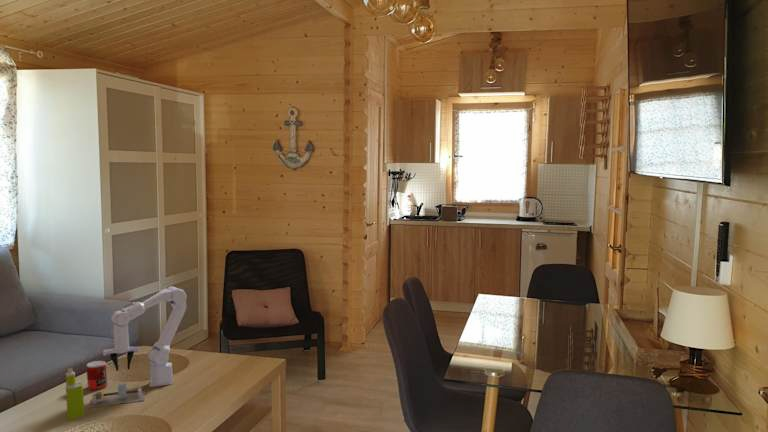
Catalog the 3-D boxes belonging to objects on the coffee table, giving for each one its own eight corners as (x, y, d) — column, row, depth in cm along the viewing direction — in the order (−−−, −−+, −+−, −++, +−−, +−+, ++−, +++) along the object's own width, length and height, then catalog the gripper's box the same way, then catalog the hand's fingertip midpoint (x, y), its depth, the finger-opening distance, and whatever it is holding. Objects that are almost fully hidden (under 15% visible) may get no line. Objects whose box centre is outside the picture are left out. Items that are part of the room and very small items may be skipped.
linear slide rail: (145, 392, 251) (144, 382, 251) (144, 400, 242) (143, 391, 242) (91, 399, 244) (91, 389, 244) (88, 408, 235) (87, 398, 235)
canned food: (99, 391, 253) (98, 366, 252) (83, 390, 255) (82, 365, 254) (111, 384, 261) (109, 361, 260) (95, 383, 262) (94, 360, 261)
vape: (66, 418, 226) (62, 368, 224) (81, 413, 231) (78, 364, 229) (69, 420, 224) (66, 371, 222) (85, 415, 228) (82, 366, 227)
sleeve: (127, 394, 246) (126, 382, 245) (126, 397, 243) (125, 385, 242) (119, 395, 245) (118, 383, 244) (118, 398, 242) (117, 386, 241)
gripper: (101, 343, 243) (103, 374, 244) (139, 339, 248) (140, 370, 249) (103, 338, 250) (105, 369, 251) (140, 335, 255) (141, 365, 256)
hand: (123, 369), depth 250 cm, fingers open, 4 cm apart
